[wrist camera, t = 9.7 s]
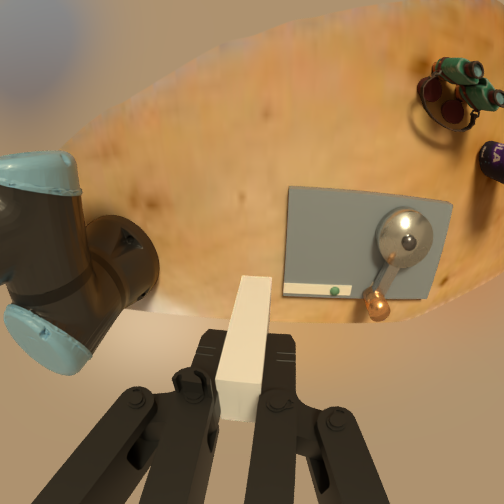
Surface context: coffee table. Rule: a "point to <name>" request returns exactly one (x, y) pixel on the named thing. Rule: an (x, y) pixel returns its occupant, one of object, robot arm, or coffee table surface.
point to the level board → (352, 243)
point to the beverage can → (492, 160)
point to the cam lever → (397, 253)
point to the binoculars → (460, 90)
